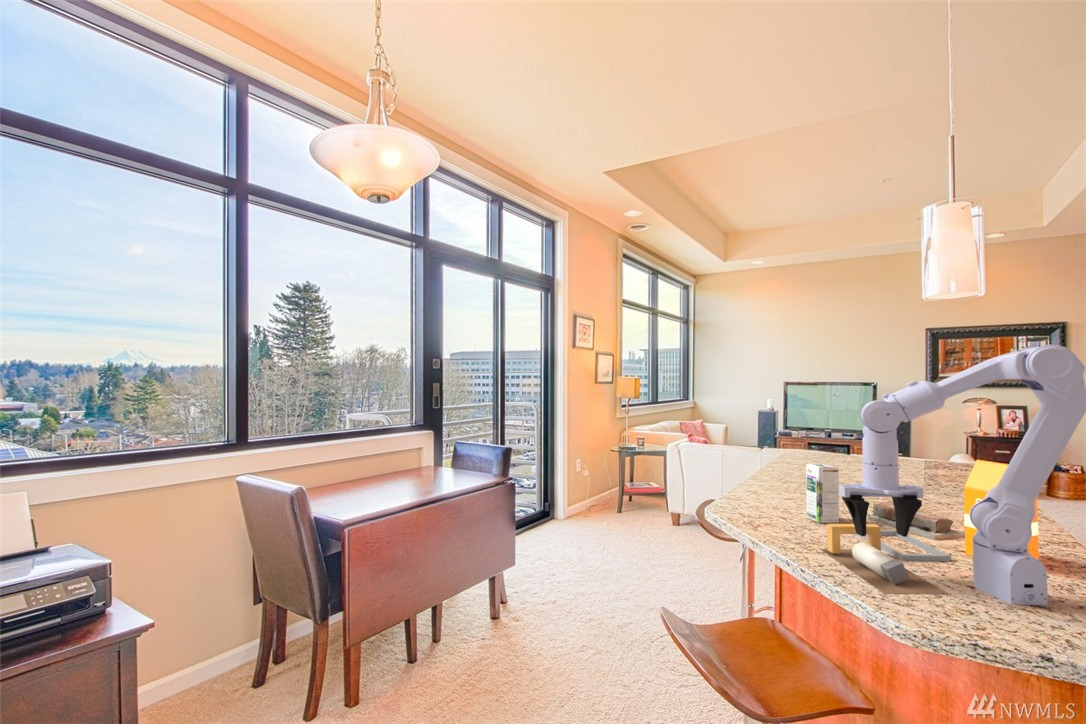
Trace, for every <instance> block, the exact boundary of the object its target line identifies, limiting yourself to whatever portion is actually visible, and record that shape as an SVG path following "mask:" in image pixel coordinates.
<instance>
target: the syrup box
mask: <svg viewBox="0 0 1086 724" xmlns="http://www.w3.org/2000/svg"><path fill="white" fill-rule="evenodd" d="M805 467H806V470H805V474H806V475H805V476H806V480H805V481H806V485H805V487H806V494H805V495H806V496H805V497H806V504H805V505H806V516H805V517H806V518H807V519H810V520H812V521H813V522H815V523H818V524H840V516H839V515H840V498H839V497H840V495H839V485H840V484H839V483H840V482H839V481H840V480H839V478H840V477H839V475H840V474H839V473H840V472H839V471H840V470H839V467H836V466H832V465H829V464H825V463H816V462H815V463H807V464H806V466H805Z"/></svg>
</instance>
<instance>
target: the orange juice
mask: <svg viewBox="0 0 1086 724" xmlns="http://www.w3.org/2000/svg"><path fill="white" fill-rule="evenodd" d="M1008 465H1009V464H1008V463H1003V462H1002V463H1001V462H995V461H989V460H988V461H987V460H983V459H976V461H975V463H974V465H973V468H972V470H971V471H970V474H969V477H968V478H967V480H966V481H965V482H966V483H965V485H963V496H964V497H963V502H964V503H963V504H964V513H963V515H964V533H965V536H964V540H965V543H964V544H965V548H964V550H965V554H966V553H967V554H966V555H968V554H970V555H969V556H971V555H973V539H972V537H973V536H974V535H975V533H976V531H977V528H975V527H974V525H973V524H972V522H971V520H970V516H969V514H970V510H971V508H972V507H973V505H975V504H976V503H978V502H980V501H981V500H983V499H984V498H985V496H986V495H987V493H988V491H990V490H991V489H992V488H994V487H995V486H996V485H997V484H998V483H999V481H1000V479H1001V477H1002V476H1003V474H1004V472H1005V470H1006V468H1007V467H1008ZM1035 512H1036V515H1035V517H1034V519H1033V521H1032V525H1031V528H1032V537H1031V540H1030V542H1029V543H1028V544H1027V545H1028V551H1029V552H1030V554H1031V555H1032V556H1033V557H1034V558H1036V559H1038V560H1039V559H1040V558H1039V554H1040V553H1039V521H1038V519H1039V518H1038V517H1039V515H1038V497H1037V498H1036V500H1035ZM1039 561H1040V560H1039Z"/></svg>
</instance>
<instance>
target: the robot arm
mask: <svg viewBox="0 0 1086 724" xmlns="http://www.w3.org/2000/svg"><path fill="white" fill-rule="evenodd" d="M1085 370H1086V366H1085V364H1084V363H1082V361H1081V360H1080V359H1079V358H1078V356H1077V355H1076V354H1075V353H1074V352H1073V351H1072V350H1071V349H1069V348H1068V347H1066V346H1063V345H1059V344H1043V345H1041V346H1027V347H1022V348H1020V349H1018V350H1016V351H1013V352H1012V351H1011V352H1007V353H1004V354H1001V355H996V356H994V357H991V358H988V359H986V360H983V361H982V362H979V363H977V364H975V365H973V366H971V367H968V368H965V369H964V370H961V371H960V372H958V373H955V374H953V375H951V376H948V377H947V378H946V377H945V378H944V379H942V380H939V381H938V382H936V383H935V382H933V381H932V382H931V381H928V380H921V381H919V382H918V381H917V380H912V381H909V382H908V383H907V387H905V388H902V389H900V390H896V391H895V392H893V393H890V394H888V393H883V394H882V395H881V398H882V400H877V399H875V400H870V401H869V402H867V403H866V404H865V405H864V406H863V407H862V409H861V411H860V414H859V416H860V420H861V421H862V423H863V424H864V425H863V428H862V435H863V437H862V446H861V447H862V450H861V451H862V483H853V484H852V483H851V484H839V496H841V498H842V500H843V502H844V504H845V506H846V507H847V510H848V512H849V515H850V516H851V519H852V522H853V523H852V524H854V526H855V530H856V533H857V534H859V535H861V536H866V524H867V519H868V510H869V506H870V502H869V501H866V500H865V498H864V497H866V498H867V497H869V498H876V497H877V498H891V499H892V503H893V504H894V509H895V516H896V528H895V530H896V532H897V534H899V535H901V536H903V537H907V535H908V536H909V528H910V525H911V522H912V520H913V518H914V516H915V514H916V513H917V511H918V510H919V511H920V509H921V508H922V506H923V505H922V504H923V502H922V500H921V499H924V488H923V487H921V486H918V485H911V484H910V485H909V484H908V485H907V484H900V483H899V482H900V481H899V480H900V479H899V477H900V476H899V475H900V473H899V467H900V466H899V440H898V437H897V435H898V433H897V431H898V430H897V429H898V427H899V426H900V424H901V423H902V422H904V423H908V422H910V421H912V420H915V419H919V418H921V417H923V416H926V415H928V414H931V413H933V412H935V411H938V410H941V409H942V408H943V407H944V405H945V403H946V400H947V399H949V398H950V397H953V396H956V395H959V394H961V393H964V392H967V391H971V390H973V389H976V388H978V387H981V386H984V385H987V384H989V383H991V382H994V381H998V380H1018V381H1020V382H1021V383H1023V384H1024V385H1026V386H1027V387H1029V388H1030V390H1031V392H1032V393H1033V394H1034V396H1035V397H1036V399H1037V401H1039V403H1040V407H1039V409H1038V411H1037V413H1036V414H1035V416H1034V418H1033V420H1032V422H1031V423H1030V425H1029V427H1028V429H1027V430H1026V432H1025V434H1024V435H1023V438H1022V440H1021V442H1020V443H1019V445H1018V447H1017V448H1016V451H1015V453H1014V454H1013V456H1012V458H1011V459H1010V462H1009V465H1008V467H1007V468H1006V470H1005V472H1004V474H1003V476H1002V477H1001V479H1000V481H999V483H998V484H997V485H996V486H995V487H994V488H992V489H991V490H990V491H988V493H987V495H986V496H985V498H984V499H983V500H981V501H980V502H978V503H976V504H975V505H973V507H972V508H971V510H970V514H969V516H970V520H971V522H972V524H973V525H974V527H975V528H977V531H976V533H975V535H974V536H973V537H972V539H973V556H972V568H973V569H972V571H973V575H972V577H973V587H974V588H975V589H976V590H978V591H980V592H981V593H985V594H987V595H990V596H993V597H995V598H997V599H998V600H1001V601H1003V602H1005V603H1007V604H1008V605H1016V606H1017V605H1019V606H1021V605H1022V606H1023V605H1024V606H1026V605H1027V606H1048V605H1049V602H1048V599H1049V598H1048V594H1049V593H1048V571H1047V569H1046V567H1045V565H1044V563H1043V562H1042V561H1040V560H1038V559H1036V558H1034V557H1033V556H1032V555H1031V554H1030V552H1029V551H1028V545H1027V544H1028V543H1029V542H1030V540H1031V537H1032V528H1031V525H1032V521H1033V519H1034V517H1035V515H1036V512H1035V500H1036V498H1037V499H1038V496H1039V494H1040V493H1041V491H1042V490H1043V488H1044V487H1045V486H1044V485H1045V484H1046V482H1047V481H1048V479H1049V477H1050V475H1051V473H1052V472H1053V470H1054V469H1055V467H1056V465H1057V462H1058V461H1059V459H1060V457H1062V456H1061V455H1062V454H1063V452H1064V451H1065V449H1066V447H1068V446H1067V445H1068V444H1069V443H1070V440H1071V438H1072V436H1073V435H1074V433H1075V432H1076V430H1077V428H1078V426H1079V424H1080V422H1081V421H1082V419H1083V418H1084V416H1085V413H1086V382H1085V376H1084V375H1085V372H1086V371H1085Z"/></svg>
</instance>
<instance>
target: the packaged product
mask: <svg viewBox="0 0 1086 724" xmlns="http://www.w3.org/2000/svg"><path fill="white" fill-rule="evenodd" d="M872 508H873V511H872V514H867V520H868V521H872V522H875V523H879V524H882V525H884V526H888V527H890V528H894V529H896V516H895V509H894V504H893V502H889V501H887V502H879V503H875V504H873V507H872ZM953 524H954V521H953V520H951V519H949V518H947V517H943V516H940V515H936V514H931V513H930V512H926V511H922V510H920V509H919V510H918V511H917V513H916V514H915V516H914V518H913V520H912V522H911V525H910V528H909V532H908V534H913V535H916V536H920V537H923V538H926V539H930V540H933V541H939V540H947V539H948V540H949V539H956V538H965V531H964V532H963V531H958V530H956V529H951V528H952V526H953Z"/></svg>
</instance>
